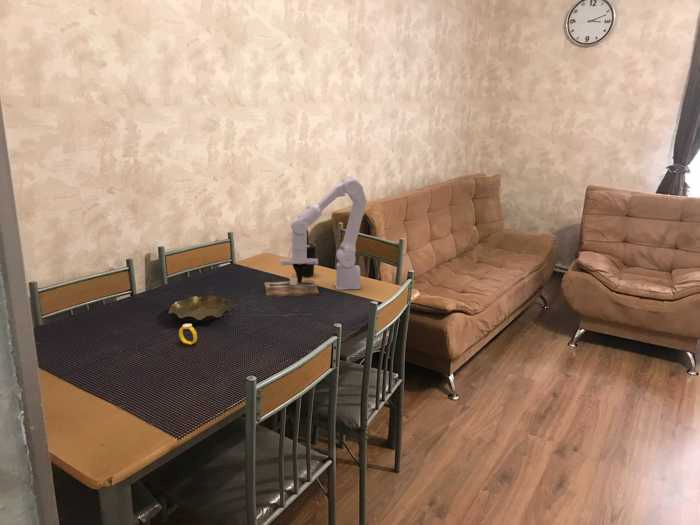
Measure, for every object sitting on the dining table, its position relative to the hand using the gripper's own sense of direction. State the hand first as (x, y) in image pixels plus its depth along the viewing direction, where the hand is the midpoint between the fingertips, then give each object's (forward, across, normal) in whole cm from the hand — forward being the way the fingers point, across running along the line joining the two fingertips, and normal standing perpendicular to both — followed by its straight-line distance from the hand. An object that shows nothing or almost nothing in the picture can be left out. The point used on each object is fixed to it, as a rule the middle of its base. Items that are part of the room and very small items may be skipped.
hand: (299, 282), depth 219 cm
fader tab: (+2, +3, 0) cm, 3 cm away
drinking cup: (+3, -6, -18) cm, 19 cm away
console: (+3, +3, 0) cm, 4 cm away
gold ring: (+3, +39, +47) cm, 61 cm away
